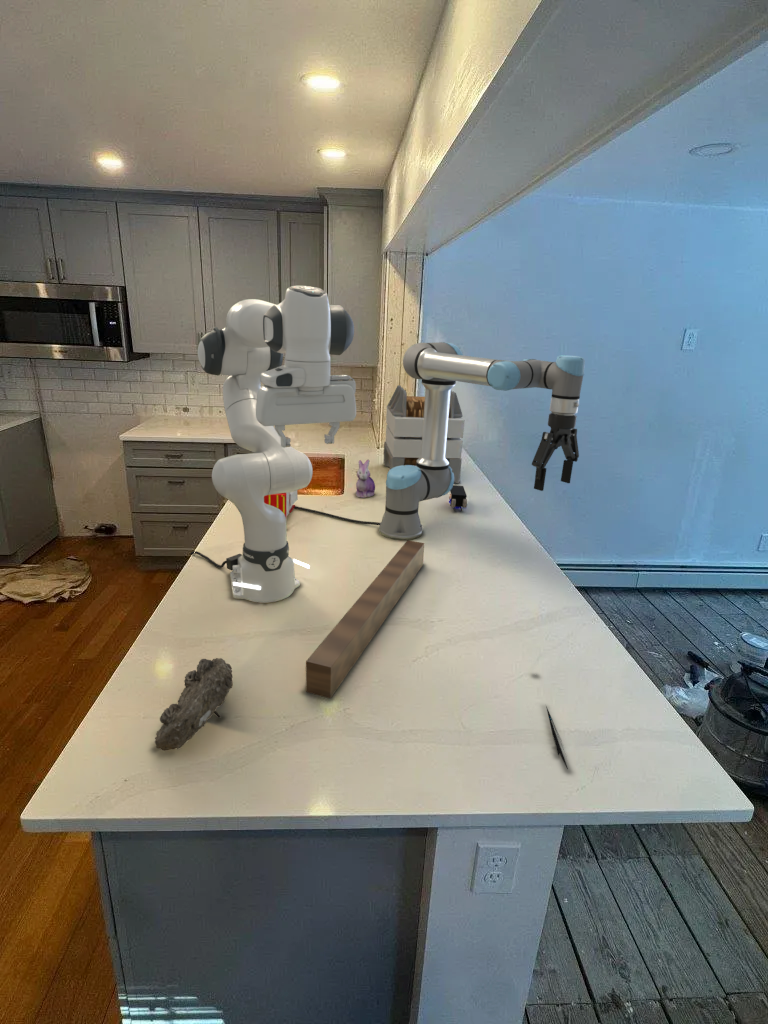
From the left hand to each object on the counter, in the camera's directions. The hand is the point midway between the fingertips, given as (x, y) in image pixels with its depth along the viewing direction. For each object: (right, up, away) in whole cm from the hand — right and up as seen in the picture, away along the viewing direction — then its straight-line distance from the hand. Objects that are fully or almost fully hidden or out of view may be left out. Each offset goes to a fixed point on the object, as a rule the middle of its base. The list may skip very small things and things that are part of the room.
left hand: (307, 445), depth 115 cm
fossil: (-20, -53, -7) cm, 56 cm away
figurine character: (+45, -12, +114) cm, 123 cm away
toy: (-24, -15, +96) cm, 100 cm away
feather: (+48, -54, -3) cm, 73 cm away
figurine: (+7, -6, +125) cm, 125 cm away
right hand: (+65, -6, +51) cm, 82 cm away
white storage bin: (+33, +5, +160) cm, 163 cm away
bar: (+14, -40, +31) cm, 53 cm away
